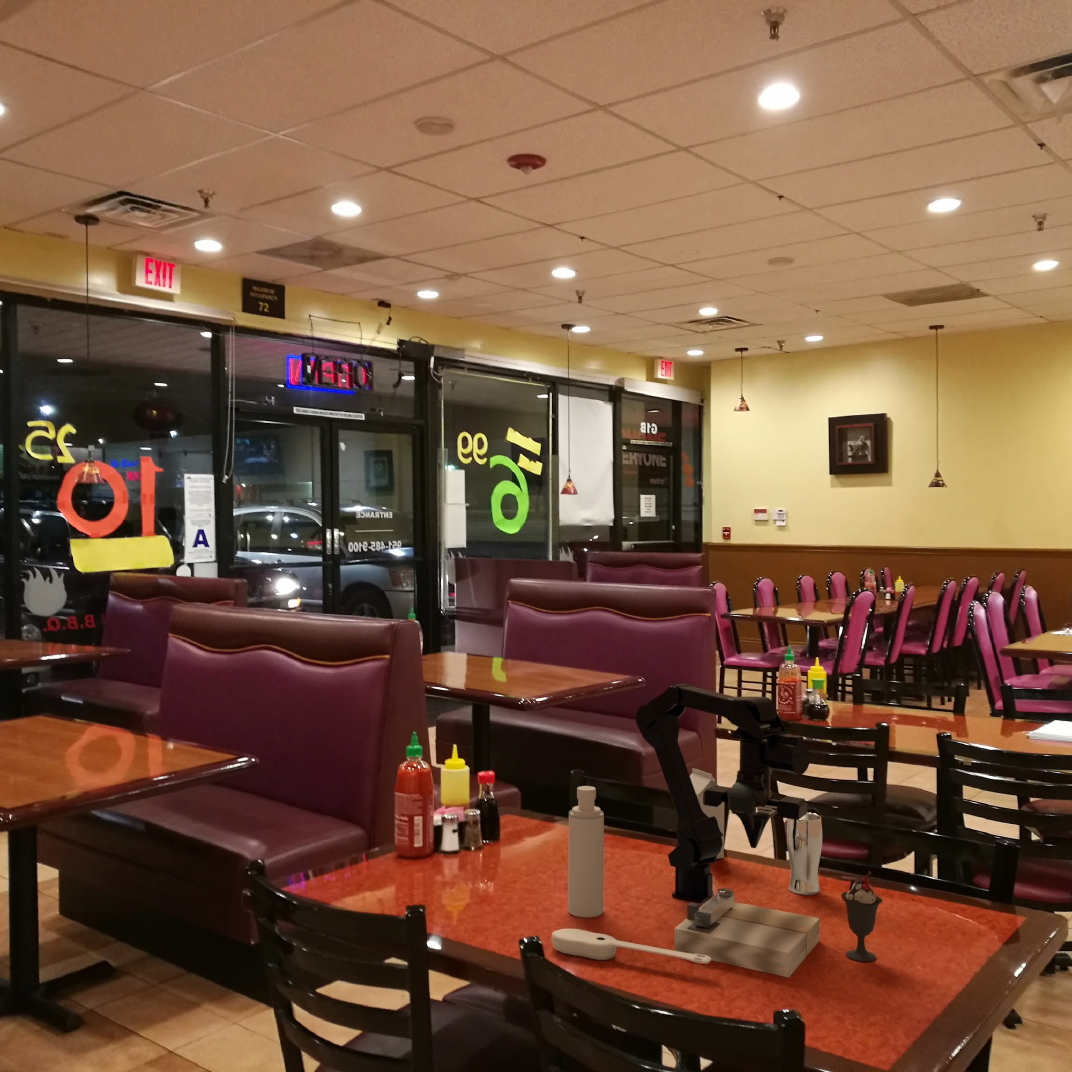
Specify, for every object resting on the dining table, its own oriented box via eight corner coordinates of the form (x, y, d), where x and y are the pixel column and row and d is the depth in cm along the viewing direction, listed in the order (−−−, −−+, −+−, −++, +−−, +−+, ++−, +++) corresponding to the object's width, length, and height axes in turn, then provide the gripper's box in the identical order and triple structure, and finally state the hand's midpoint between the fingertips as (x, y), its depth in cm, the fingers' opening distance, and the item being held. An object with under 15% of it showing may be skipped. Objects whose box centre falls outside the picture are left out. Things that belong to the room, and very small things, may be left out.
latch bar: (720, 901, 191) (720, 887, 191) (735, 904, 190) (735, 890, 190) (693, 925, 180) (693, 909, 180) (708, 928, 178) (709, 912, 178)
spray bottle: (610, 911, 198) (611, 779, 198) (587, 920, 194) (588, 785, 194) (583, 902, 203) (584, 774, 203) (560, 911, 198) (561, 779, 198)
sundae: (876, 967, 173) (877, 877, 173) (836, 958, 177) (836, 870, 177) (886, 954, 179) (887, 866, 179) (846, 945, 182) (847, 860, 183)
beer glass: (818, 885, 214) (819, 812, 214) (824, 896, 207) (825, 821, 207) (784, 883, 215) (784, 811, 215) (788, 895, 208) (789, 820, 208)
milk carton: (698, 863, 228) (698, 776, 228) (679, 854, 235) (679, 769, 235) (724, 858, 232) (724, 773, 232) (704, 849, 238) (705, 766, 238)
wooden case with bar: (674, 951, 179) (674, 913, 179) (712, 919, 195) (712, 884, 195) (788, 977, 169) (788, 937, 169) (819, 941, 185) (819, 904, 185)
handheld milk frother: (715, 970, 172) (715, 953, 172) (705, 983, 167) (705, 965, 167) (559, 941, 184) (559, 924, 184) (546, 952, 178) (546, 935, 178)
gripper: (691, 766, 194) (690, 849, 195) (789, 780, 185) (788, 868, 185) (714, 755, 204) (713, 835, 204) (808, 768, 194) (807, 852, 194)
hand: (753, 847), depth 196 cm, fingers closed
